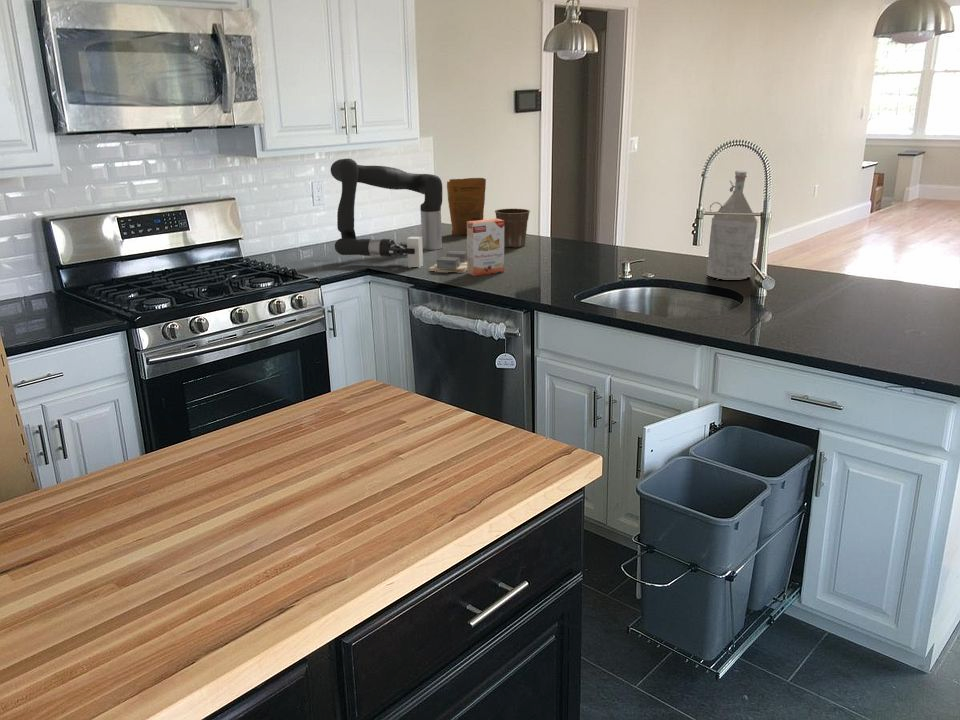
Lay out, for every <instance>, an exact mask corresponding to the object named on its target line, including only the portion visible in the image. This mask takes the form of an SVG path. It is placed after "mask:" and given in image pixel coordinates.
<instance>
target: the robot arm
mask: <svg viewBox="0 0 960 720" xmlns="http://www.w3.org/2000/svg"><path fill="white" fill-rule="evenodd" d="M329 171H330V175H331V176H332V177H333V179H335V180H336V181H338V182H340V183H341V194H340V195H341V196H340V200H339V202H338V203H339V204H338V206H337V214H336V217H337V218H336V220H337V222H336V223H337V225H336V227H337V230H338V232H339V233H340V236H341V237H340V238H338V239H337V240H336V241H335V243H334V250H335V252H336V253H338V254H339V255H342V256H366V257H377V258H393V257H394V256H403V255H408V254H415V249H413V248H407V242H401V241H400V242H398V243H397V244H396V243H395V240H394V239H392V238H357V236H356V235H357V234H356V231H355V202H356V194H357V193H356V192H357V184H358V183H360V184H365V185H367V186H368V185H369V186H372V187H377V188H382V189H388V190H400V191H401V190H408V191H413V192H416V193H419V194H422V195H424V201H423V203H420V205H419V207H420V226H421V229H420V230H421V232H420V233H421V237H422V248H423V250H427V251H428V250H432V251H433V250H440V249H441V250H442V248H443V237H442V236H443V235H442V234H443V233H442V230H443V229H442V212H441V211H442V204H443V182H442V179H441V177H439V176H438V175H435V174H431V173H413V172H407V171H404V170H401V169H399V168H396V167H391V166H384V165H362V164H358V163H357V161H355V160H354V159H352V158H342V159H337V160H336V161H333V163H332V164H331V166H330V170H329Z"/></svg>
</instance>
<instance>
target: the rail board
mask: <svg viewBox="0 0 960 720" xmlns="http://www.w3.org/2000/svg"><path fill="white" fill-rule="evenodd" d="M445 254H446V255H445V256H446V257H445V256H440V257H438V258H437V259H436V263H435V264H433V265H431V266H430V267H429V272H430V271H435V272H434V273H448V272H457V273H456V274H464V273H465V272H466V270H467V251H464V250H463V251H459V250H449V251H448V252H446V253H445ZM436 271H437V272H436ZM463 272H464V273H463Z"/></svg>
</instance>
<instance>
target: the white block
mask: <svg viewBox="0 0 960 720" xmlns="http://www.w3.org/2000/svg"><path fill="white" fill-rule="evenodd" d="M406 243H407V248H413V249H415V254H407V268H411V267H418V268H417V269H419V268H422V267H423V266H424V253H423V250H424V249H423V248H422V236H408V237H407V238H406ZM421 266H422V267H421Z"/></svg>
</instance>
